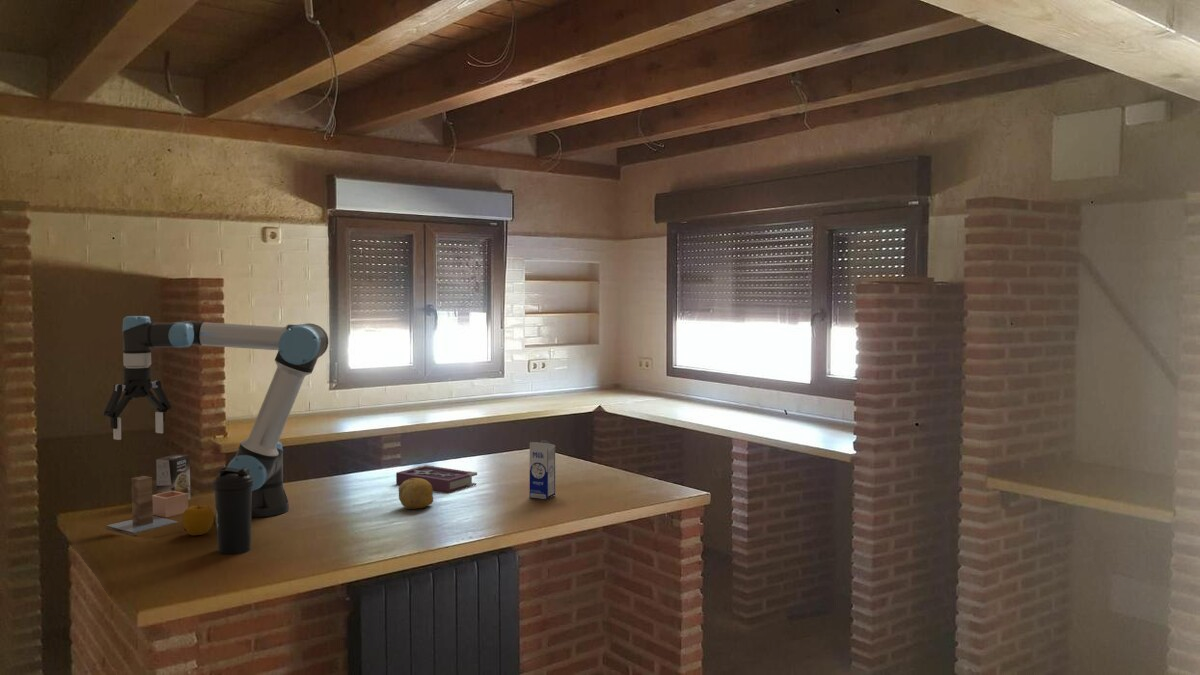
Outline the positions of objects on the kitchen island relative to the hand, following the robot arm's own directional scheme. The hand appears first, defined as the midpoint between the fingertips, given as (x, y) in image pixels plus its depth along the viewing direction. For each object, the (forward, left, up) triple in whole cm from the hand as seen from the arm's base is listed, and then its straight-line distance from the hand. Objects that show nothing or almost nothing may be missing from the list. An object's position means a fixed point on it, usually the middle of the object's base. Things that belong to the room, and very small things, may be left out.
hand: (138, 436), depth 268 cm
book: (-40, -90, -28) cm, 102 cm away
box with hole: (+1, -10, -27) cm, 29 cm away
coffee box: (+14, -20, -28) cm, 37 cm away
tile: (-4, +2, -27) cm, 28 cm away
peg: (-4, +2, -26) cm, 26 cm away
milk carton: (-84, -95, -28) cm, 130 cm away
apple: (-25, -2, -28) cm, 37 cm away
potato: (-57, -60, -28) cm, 87 cm away
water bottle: (-47, +2, -28) cm, 54 cm away
